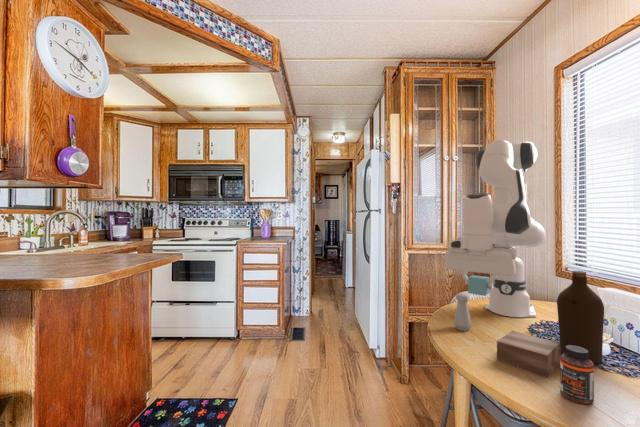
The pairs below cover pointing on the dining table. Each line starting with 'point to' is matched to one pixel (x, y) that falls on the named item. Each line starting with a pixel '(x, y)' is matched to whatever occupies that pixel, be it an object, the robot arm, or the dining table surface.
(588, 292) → the olive oil
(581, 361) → the supplement bottle
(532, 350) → the walnut block
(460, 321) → the salt shaker
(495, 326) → the dining table surface
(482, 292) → the teal cube
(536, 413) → the dining table surface
